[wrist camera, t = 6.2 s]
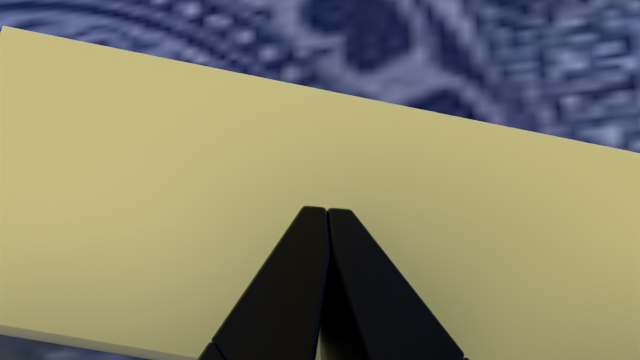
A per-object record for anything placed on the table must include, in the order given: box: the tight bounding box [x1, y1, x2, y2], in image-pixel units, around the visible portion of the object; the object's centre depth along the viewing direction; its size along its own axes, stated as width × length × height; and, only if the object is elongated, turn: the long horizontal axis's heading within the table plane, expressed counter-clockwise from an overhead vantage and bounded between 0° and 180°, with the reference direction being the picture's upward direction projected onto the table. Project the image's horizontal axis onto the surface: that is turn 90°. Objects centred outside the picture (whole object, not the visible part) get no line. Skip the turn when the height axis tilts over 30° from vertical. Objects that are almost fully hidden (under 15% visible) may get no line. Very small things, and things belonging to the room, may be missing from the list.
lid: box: [0, 26, 640, 360], centre depth 12 cm, size 7×18×1 cm, turn 80°
